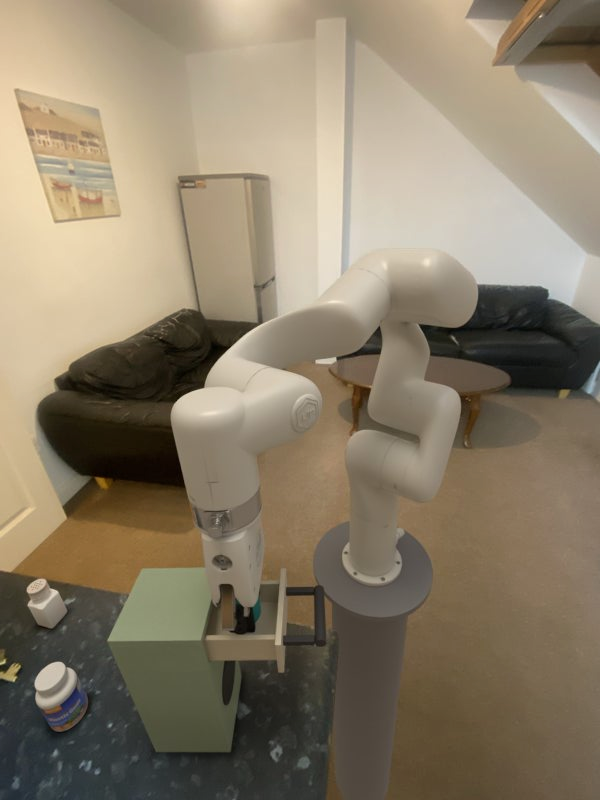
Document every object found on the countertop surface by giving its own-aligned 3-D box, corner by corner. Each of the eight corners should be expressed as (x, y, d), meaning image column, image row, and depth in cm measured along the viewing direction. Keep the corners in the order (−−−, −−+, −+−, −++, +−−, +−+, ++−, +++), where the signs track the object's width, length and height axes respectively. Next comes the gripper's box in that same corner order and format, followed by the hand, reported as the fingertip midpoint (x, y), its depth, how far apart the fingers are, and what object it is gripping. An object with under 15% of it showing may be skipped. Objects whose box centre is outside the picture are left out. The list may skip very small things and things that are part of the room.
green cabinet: (243, 675, 62) (222, 566, 51) (232, 752, 53) (203, 640, 42) (177, 676, 63) (141, 568, 52) (155, 752, 54) (106, 641, 43)
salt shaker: (54, 607, 76) (37, 574, 72) (69, 611, 75) (53, 578, 70) (36, 625, 72) (18, 592, 68) (52, 630, 71) (35, 597, 67)
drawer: (324, 593, 53) (323, 567, 51) (327, 672, 44) (326, 644, 42) (213, 595, 54) (207, 569, 52) (193, 673, 45) (185, 645, 42)
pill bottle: (54, 742, 55) (30, 706, 51) (47, 710, 59) (25, 675, 55) (93, 712, 59) (74, 677, 54) (84, 684, 62) (66, 649, 58)
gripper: (250, 564, 32) (268, 685, 40) (268, 455, 47) (279, 558, 55) (164, 566, 32) (199, 685, 40) (210, 457, 47) (229, 559, 55)
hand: (245, 611), depth 47 cm, fingers closed on pod, 4 cm apart
